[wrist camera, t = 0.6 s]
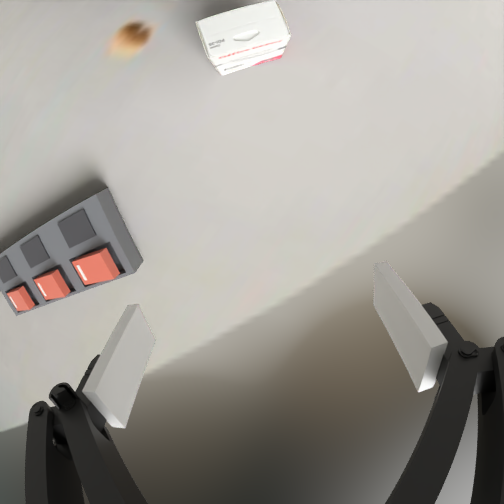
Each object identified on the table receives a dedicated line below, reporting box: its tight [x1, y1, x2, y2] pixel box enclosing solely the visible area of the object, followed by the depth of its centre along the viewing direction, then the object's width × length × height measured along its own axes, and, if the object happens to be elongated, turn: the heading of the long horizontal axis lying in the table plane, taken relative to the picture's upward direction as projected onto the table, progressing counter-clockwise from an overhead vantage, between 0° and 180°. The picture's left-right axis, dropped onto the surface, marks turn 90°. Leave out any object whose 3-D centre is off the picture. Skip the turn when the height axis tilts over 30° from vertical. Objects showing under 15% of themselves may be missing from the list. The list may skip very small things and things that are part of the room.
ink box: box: [195, 0, 291, 75], centre depth 27 cm, size 9×5×12 cm, turn 108°
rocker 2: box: [34, 269, 71, 300], centre depth 42 cm, size 4×8×2 cm, turn 109°
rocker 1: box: [7, 286, 35, 311], centre depth 44 cm, size 4×8×2 cm, turn 110°
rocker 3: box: [72, 248, 120, 285], centre depth 41 cm, size 4×8×2 cm, turn 109°
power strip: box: [0, 188, 143, 316], centre depth 44 cm, size 13×44×4 cm, turn 110°
